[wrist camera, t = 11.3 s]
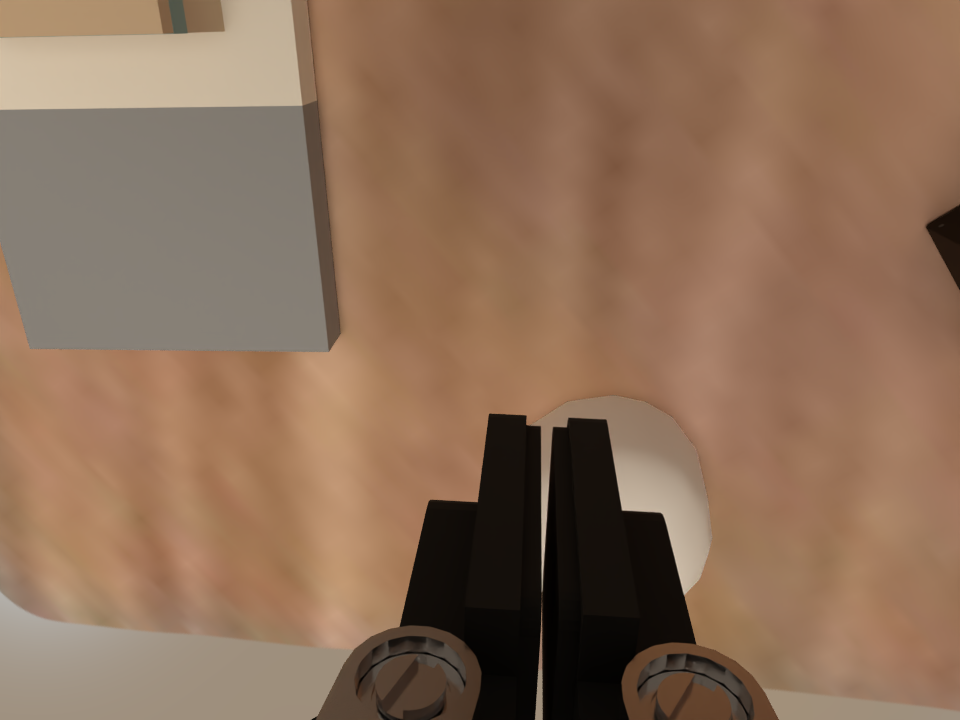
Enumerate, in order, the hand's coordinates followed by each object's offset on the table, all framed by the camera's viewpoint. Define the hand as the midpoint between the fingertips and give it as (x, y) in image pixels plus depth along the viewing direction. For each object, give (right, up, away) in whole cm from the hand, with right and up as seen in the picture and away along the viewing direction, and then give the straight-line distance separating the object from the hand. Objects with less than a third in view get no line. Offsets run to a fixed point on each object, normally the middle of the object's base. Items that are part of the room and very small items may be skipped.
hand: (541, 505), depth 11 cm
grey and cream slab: (-17, +16, +26) cm, 34 cm away
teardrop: (+6, -5, +33) cm, 34 cm away
